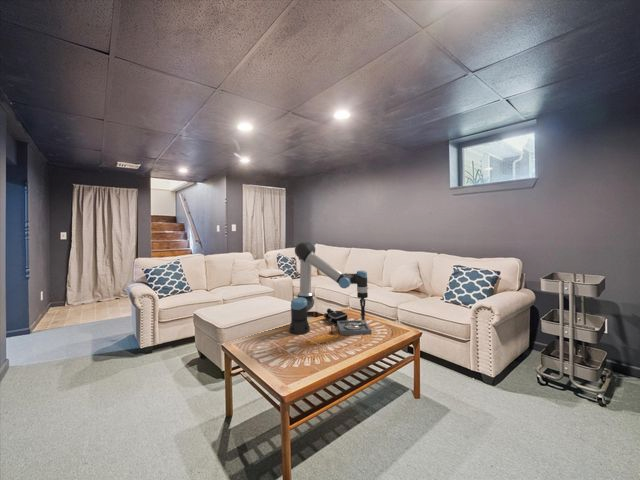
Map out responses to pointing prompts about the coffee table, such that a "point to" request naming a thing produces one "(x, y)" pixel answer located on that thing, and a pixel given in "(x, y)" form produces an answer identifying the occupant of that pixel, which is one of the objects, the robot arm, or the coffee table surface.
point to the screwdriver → (334, 330)
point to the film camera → (335, 316)
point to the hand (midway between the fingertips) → (363, 323)
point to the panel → (345, 331)
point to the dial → (353, 326)
